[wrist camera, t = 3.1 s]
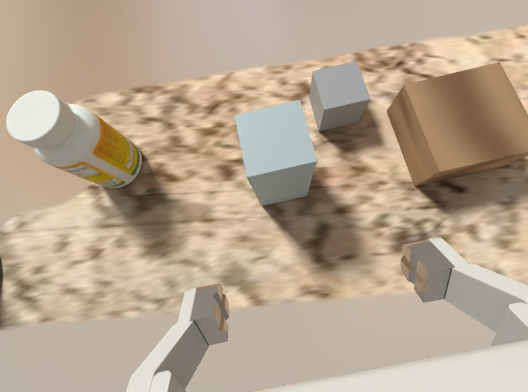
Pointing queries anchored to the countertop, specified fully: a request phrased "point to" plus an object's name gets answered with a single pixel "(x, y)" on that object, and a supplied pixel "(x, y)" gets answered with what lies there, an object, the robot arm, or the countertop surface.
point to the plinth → (459, 124)
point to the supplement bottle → (74, 139)
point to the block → (338, 96)
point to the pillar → (277, 152)
